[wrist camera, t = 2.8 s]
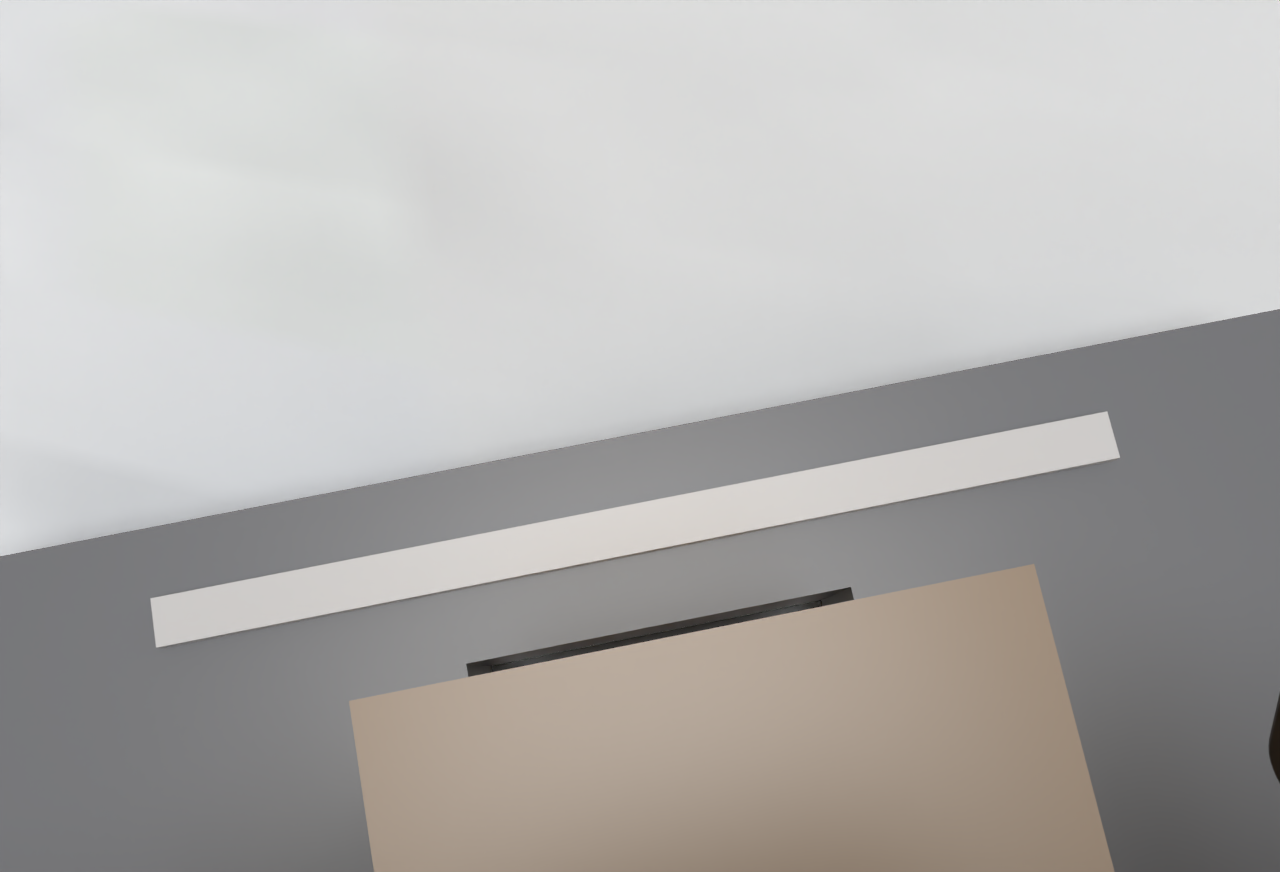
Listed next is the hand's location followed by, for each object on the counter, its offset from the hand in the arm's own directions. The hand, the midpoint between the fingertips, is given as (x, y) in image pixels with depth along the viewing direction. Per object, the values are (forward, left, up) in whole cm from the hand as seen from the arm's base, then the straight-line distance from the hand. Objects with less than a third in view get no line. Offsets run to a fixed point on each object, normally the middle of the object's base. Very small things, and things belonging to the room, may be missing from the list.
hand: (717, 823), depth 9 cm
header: (0, 0, -8) cm, 8 cm away
